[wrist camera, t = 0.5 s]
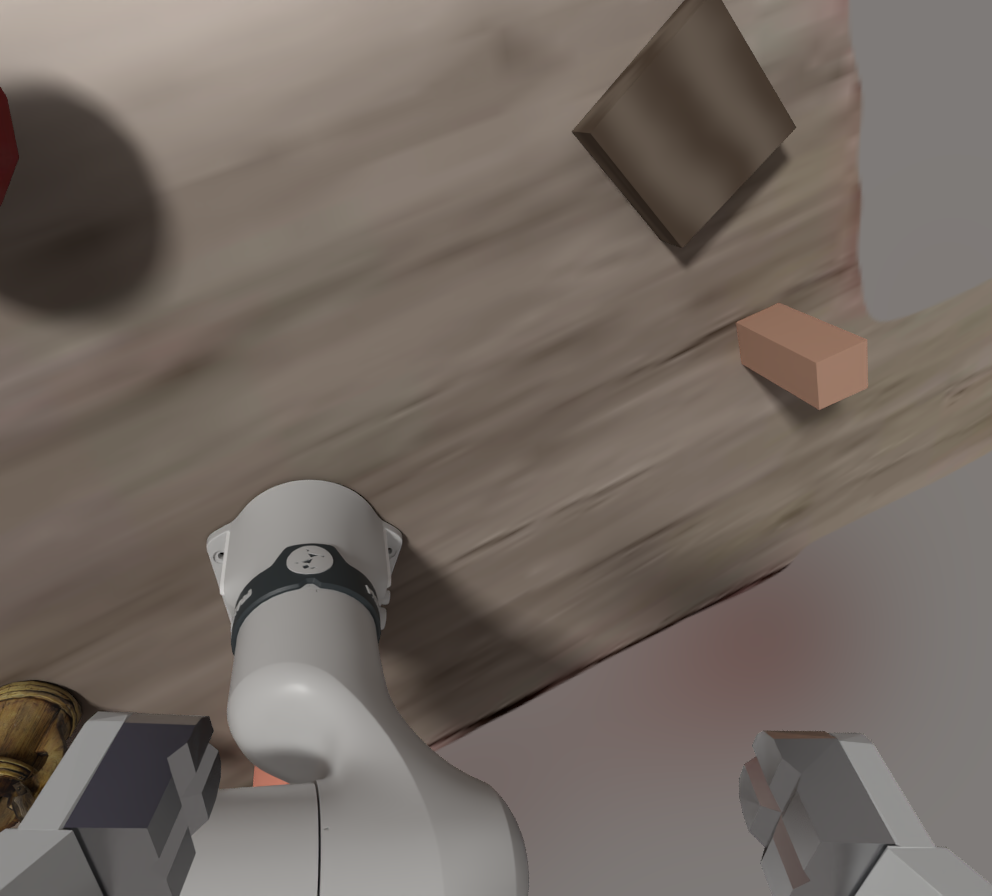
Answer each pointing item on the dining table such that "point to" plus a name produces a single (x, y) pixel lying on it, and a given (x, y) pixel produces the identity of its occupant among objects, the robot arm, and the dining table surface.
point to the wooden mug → (31, 742)
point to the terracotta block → (804, 355)
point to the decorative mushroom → (6, 146)
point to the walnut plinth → (686, 121)
